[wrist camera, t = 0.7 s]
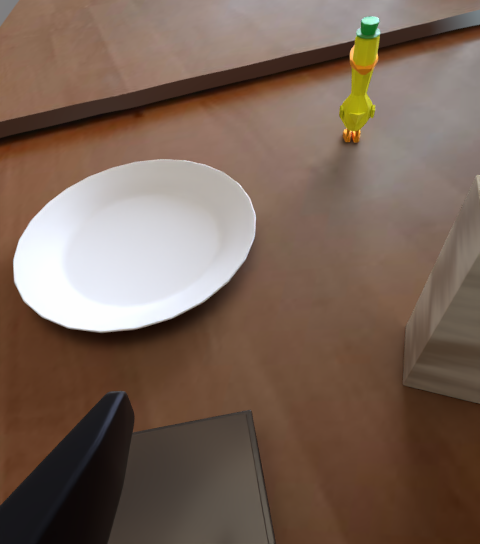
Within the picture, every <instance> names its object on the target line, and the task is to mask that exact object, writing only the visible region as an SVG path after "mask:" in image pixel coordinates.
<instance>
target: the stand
mask: <svg viewBox="0 0 480 544" xmlns="http://www.w3.org/2000/svg"><path fill="white" fill-rule="evenodd" d="M108 544H276V542H275V536H274V531H273V525H272V520H271V515H270V509H269V504H268V498H267V493H266V487H265V482H264V476H263V471H262V465H261V460H260V455H259V449H258V444H257V438H256V433H255V427H254V422H253V416H252V411H251V410H247V411H242V412H237V413H231V414H226V415H221V416H216V417H211V418H206V419H200V420H195V421H190V422H185V423H180V424H175V425H170V426H164V427H159V428H154V429H149V430H144V431H139V432H133V433H132V438H131V444H130V450H129V456H128V462H127V468H126V474H125V479H124V485H123V489H122V493H121V497H120V501H119V505H118V508H117V512H116V515H115V519H114V523H113V526H112V530H111V534H110V537H109V541H108Z"/></svg>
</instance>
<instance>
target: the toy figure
mask: <svg viewBox="0 0 480 544" xmlns="http://www.w3.org/2000/svg"><path fill="white" fill-rule="evenodd" d="M379 21H380V20H379V19H378V18H377V17H371V16H369V17H365V18H363V19H362V20H361V28H360V29H358V30H357V32H356V34H357V37H356V38H355V46H353V48H352V49H351V52H350V66H351V67H352V89H351V94H350V95H349V97H348V98H347V99H346V100H345V101H344V103H343V104H342V105H341V106H340V112H339V116H340V118H341V120H342V121H343V123H344V125H345V127H346V128H347V129H345V130H344V131H343V138H344V140H345V142H350V139H351V131H353V132H352V139H353V142H359V139H360V132H361V131H360V129H361V128H362V127H363V126H364V125H365V124H366V122H367V121H368V120H369V118H370V117H371V118H373V117H374V113H375V105H372V102H371V100H370V99H369V97H368V95H367V90H368V86H369V83H370V80H371V76H372V73H373V69H374V67H375V66H376V64H377V61H378V54H377V51H378V45H379V39H380V36H379V35H380V30H379V29H378V28H377V27H378V24H379Z"/></svg>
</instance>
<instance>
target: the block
mask: <svg viewBox="0 0 480 544" xmlns="http://www.w3.org/2000/svg"><path fill="white" fill-rule="evenodd" d="M403 385H405V386H409V387H413V388H417V389H421V390H425V391H429V392H433V393H438V394H442V395H446V396H450V397H454V398H458V399H462V400H466V401H470V402H474V403H479V404H480V175H476V177H475V179H474V181H473V183H472V185H471V188H470V190H469V192H468V194H467V196H466V198H465V200H464V203H463V205H462V207H461V209H460V211H459V213H458V216H457V218H456V220H455V222H454V224H453V226H452V228H451V231H450V233H449V235H448V237H447V239H446V241H445V243H444V246H443V248H442V250H441V252H440V254H439V256H438V258H437V261H436V263H435V265H434V267H433V269H432V271H431V274H430V276H429V278H428V280H427V282H426V284H425V286H424V289H423V291H422V293H421V295H420V297H419V299H418V301H417V304H416V306H415V308H414V310H413V312H412V314H411V316H410V319H409V321H408V323H407V325H406V332H405V351H404V370H403Z"/></svg>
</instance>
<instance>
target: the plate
mask: <svg viewBox="0 0 480 544" xmlns="http://www.w3.org/2000/svg"><path fill="white" fill-rule="evenodd" d="M255 225H256V215H255V212H254V209H253V206H252V203H251V200H250V198H249V196H248V195H247V194H246V192H245V191H244V190H243V188H242V187H241V186H240V184H239V183H237V182H236V181H235V180H233V179H232V178H230V177H229V176H228V175H226V174H225V173H224V172H221V171H219V170H216V169H214V168H211V167H209V166H207V165H204V164H199V163H194V162H189V161H184V160H162V159H159V160H150V161H141V162H134V163H130V164H126V165H122V166H118V167H113V168H110V169H108V170H105V171H103V172H100V173H97V174H95V175H92V176H89V177H87V178H86V179H84V180H82V181H80V182H78V183H76V184H75V185H73V186H71V187H69V188H67V189H66V190H65V191H63V192H62V193H61V194H59V195H58V196H57V197H55V198H54V199H53V200H51V201H50V202H49V203H47V204H46V205H45V206H44V207H43V209H42V210H41V211H40V212H39V213H38V214H37V215H36V216H35V217H34V218H33V219H32V220H31V221H30V223H29V225H28V226H27V228H26V230H25V231H24V233H23V234H22V236H21V238H20V239H19V242H18V245H17V249H16V252H15V256H14V259H13V269H14V283H15V285H16V287H17V289H18V291H19V293H20V295H21V297H22V299H23V301H24V302H25V303H26V304H27V305H28V306H29V307H30V308H32V309H33V310H34V311H35V312H36V313H37V314H38V315H40V316H41V317H42V318H44V319H47V320H49V321H51V322H54V323H56V324H59V325H61V326H63V327H66V328H68V329H75V330H82V331H90V332H98V333H105V332H116V331H126V330H137V329H140V328H143V327H147V326H150V325H153V324H157V323H160V322H163V321H167V320H170V319H173V318H175V317H177V316H179V315H181V314H183V313H184V312H186V311H188V310H190V309H192V308H194V307H196V306H198V305H200V304H202V303H204V302H205V301H206V300H207V299H209V298H210V297H211V296H212V295H213V294H215V293H216V292H217V291H218V290H220V289H221V288H222V287H223V286H224V285H226V284H227V283H228V282H229V281H230V280H231V278H232V277H233V276H234V274H235V273H236V272H237V270H238V269H239V268H240V267H241V265H242V264H243V263H244V261H245V260H246V258H247V255H248V253H249V250H250V248H251V246H252V243H253V241H254V238H255Z"/></svg>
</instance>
